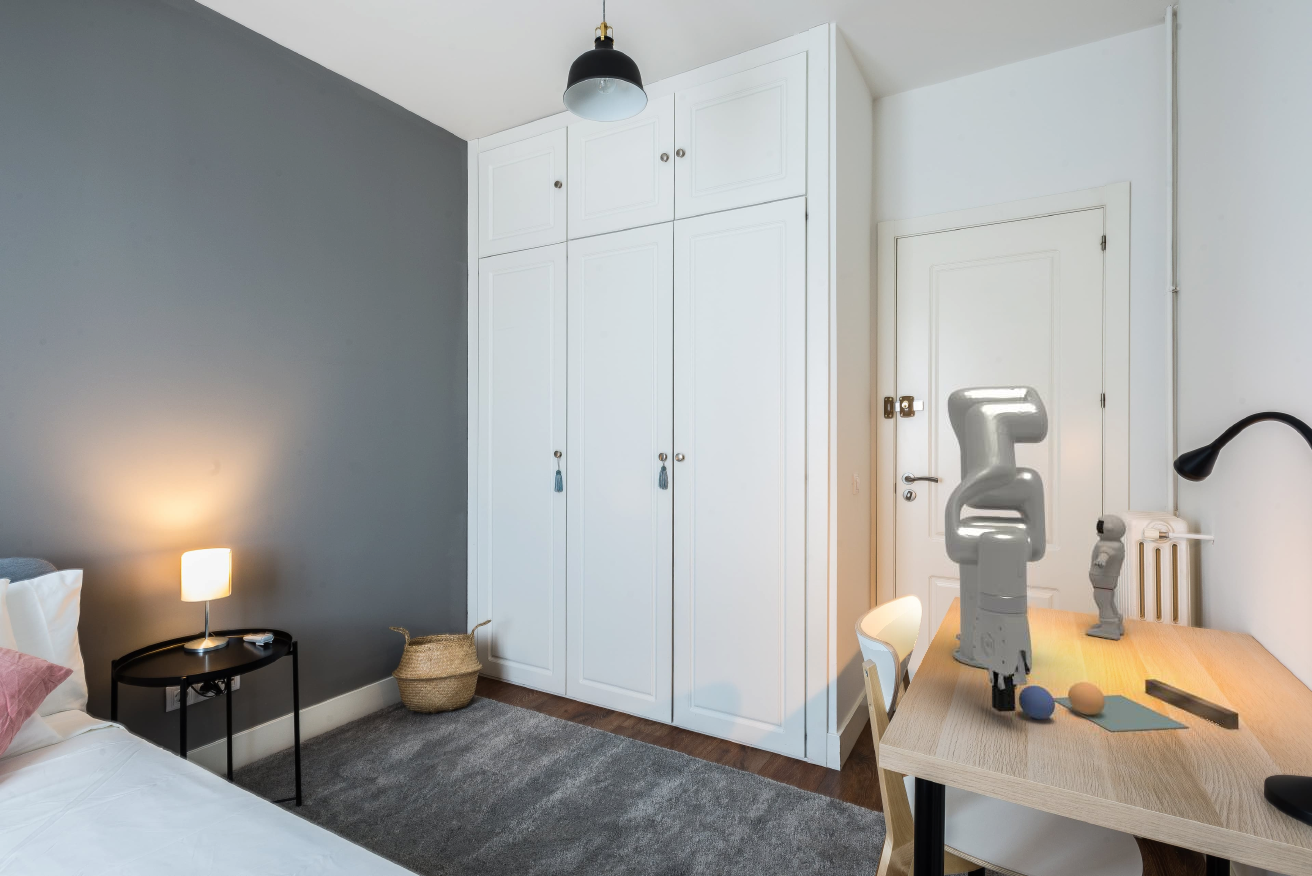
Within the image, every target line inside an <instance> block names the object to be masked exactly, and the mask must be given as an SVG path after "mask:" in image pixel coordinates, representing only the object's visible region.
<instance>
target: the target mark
mask: <svg viewBox="0 0 1312 876" xmlns="http://www.w3.org/2000/svg"><path fill="white" fill-rule="evenodd" d="M1104 698H1105V706H1104V709H1103V710H1102V711H1101V712H1100V713H1098V714H1096V715H1085V714H1082V713H1080V712H1078V711H1077V710H1075V709H1074V708H1073V706H1072V705H1071V704H1070V702H1069V698H1068V696H1067V697H1066V696H1065V697H1053V699H1054V702H1055V703H1058V704H1059V705H1061V706H1062V707H1065V708H1066V709H1068V710H1070V711H1072V712H1074V713H1075V714H1078V716H1081V717H1083V718H1085V719H1087V720H1088V721H1090V722H1092V723H1093V724H1096V725H1097V726H1100V727H1101V728H1103V729H1104V730H1106V731H1109V732H1110V733H1117V732H1118V733H1120V732H1135V731H1136V732H1137V731H1139V732H1140V731H1154V730H1155V731H1158V730H1159V731H1161V730H1174V729H1175V730H1176V729H1177V730H1178V729H1179V730H1180V729H1190V726H1188V725H1186V724H1184V723H1182V722H1180V721H1177V720H1175V719H1173V718H1171V717H1169V716H1167V715H1164V714H1162V713H1161V712H1158V711H1156V710H1154V709H1151V708H1149V707H1148V706H1145V705H1143V704H1141V703H1139V702H1137V701H1135V700H1132V699H1131V698H1128V697H1125V696H1123V695H1122V694H1115V695H1112V694H1109V695H1108V694H1107V695H1104Z"/></svg>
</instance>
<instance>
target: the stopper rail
mask: <svg viewBox="0 0 1312 876" xmlns="http://www.w3.org/2000/svg"><path fill="white" fill-rule="evenodd" d="M1144 680H1145V681H1144V682H1145V687H1144V688H1145V689H1144V690H1145V693H1146V694H1147V695H1150V696H1151V697H1154V698H1156V699H1159V700H1161V701H1164V702H1166V703H1168V704H1170V705H1172V706H1175V707H1176V708H1178V709H1180V710H1184V711H1186V712H1189V713H1190V714H1192V713H1193V715H1194V716H1195V715H1196V716H1197V715H1198V717H1199V716H1200V718H1202V717H1203V718H1202V719H1204V718H1205V719H1204V720H1206V719H1208V720H1210V721H1209V722H1211V721H1213V722H1214V723H1213V722H1212V723H1213V724H1215V723H1217V724H1219V725H1218V726H1220V725H1221V726H1220V727H1222V726H1223V727H1222V728H1224V727H1225V728H1224V729H1226V728H1227V729H1226V730H1235V729H1238V728H1239V726H1240V725H1239V722H1240V721H1239V712H1236V711H1234V710H1231V709H1229V708H1226V707H1225V706H1222V705H1219V704H1216V703H1214V702H1211V701H1209V700H1207V699H1204V698H1202V697H1200V696H1197V695H1194V694H1192V693H1191V692H1190V693H1189V692H1187V691H1186V690H1182V689H1180V688H1178V687H1175V686H1172V685H1170V684H1168V683H1166V682H1162V681H1161V680H1158V679H1155V678H1154V679H1153V678H1151V679H1149V678H1147V679H1144ZM1208 720H1207V721H1208ZM1217 724H1216V725H1217ZM1231 728H1233V729H1231Z"/></svg>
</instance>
